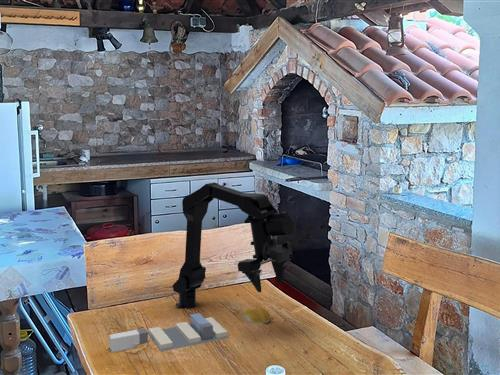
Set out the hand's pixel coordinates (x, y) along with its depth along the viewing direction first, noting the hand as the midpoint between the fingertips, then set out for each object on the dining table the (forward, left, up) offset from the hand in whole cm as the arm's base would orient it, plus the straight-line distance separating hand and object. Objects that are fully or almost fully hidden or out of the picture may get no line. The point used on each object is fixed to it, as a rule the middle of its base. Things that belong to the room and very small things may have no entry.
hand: (270, 287), depth 170 cm
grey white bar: (-10, -41, -15) cm, 45 cm away
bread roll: (-11, +1, -15) cm, 19 cm away
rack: (-8, -23, -15) cm, 29 cm away
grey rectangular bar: (-8, -19, -14) cm, 25 cm away
